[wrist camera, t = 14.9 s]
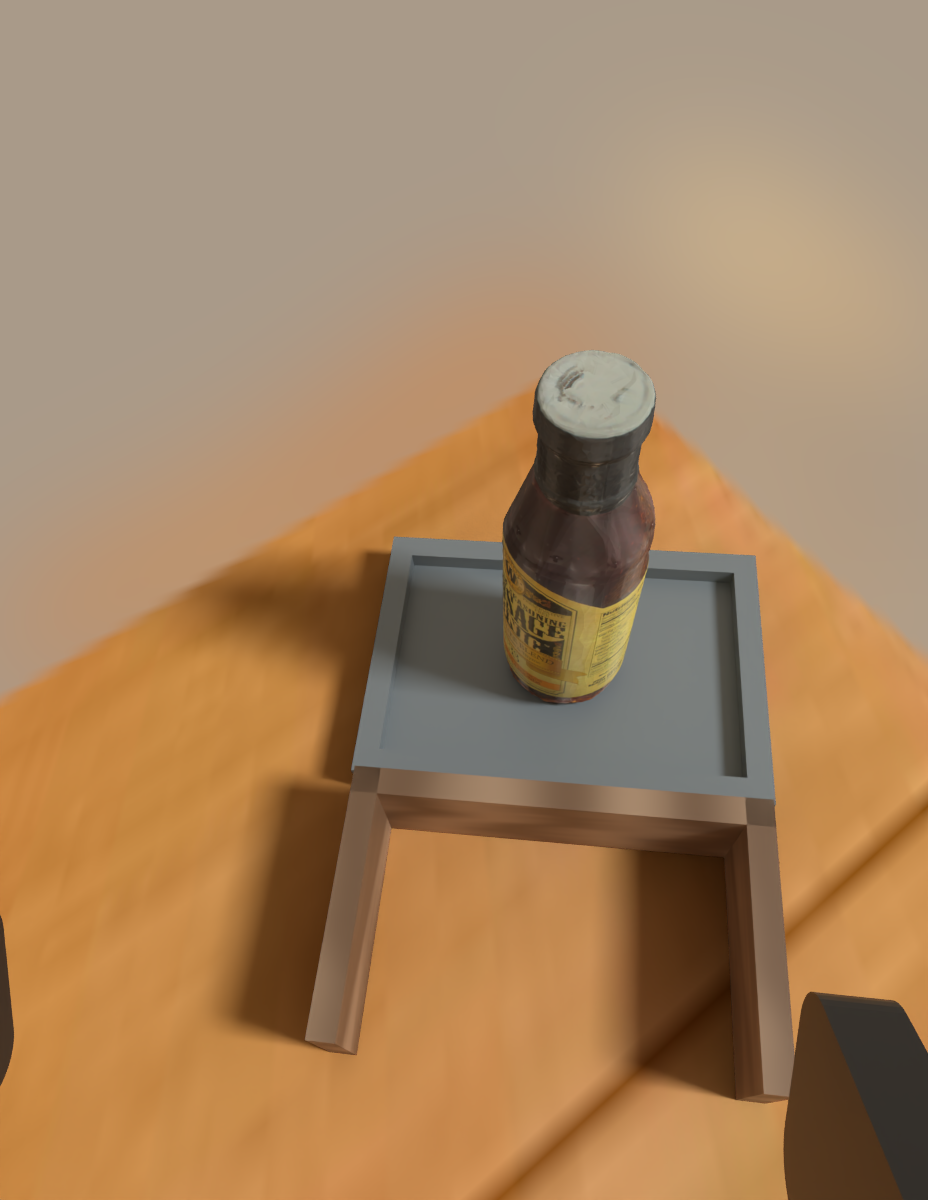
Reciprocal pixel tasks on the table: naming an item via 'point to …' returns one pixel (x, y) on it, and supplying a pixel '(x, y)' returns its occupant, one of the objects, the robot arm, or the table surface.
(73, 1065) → the table surface
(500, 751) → the tray
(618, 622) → the sauce bottle
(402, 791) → the holder
